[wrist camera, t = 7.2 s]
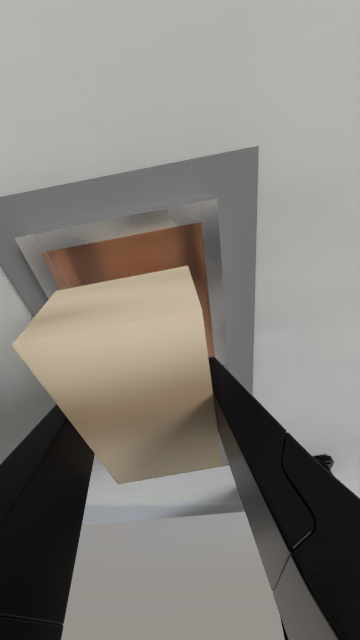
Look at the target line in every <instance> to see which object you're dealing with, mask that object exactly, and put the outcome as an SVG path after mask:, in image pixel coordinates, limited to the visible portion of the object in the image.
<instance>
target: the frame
mask: <svg viewBox="0 0 360 640" xmlns="http://www.w3.org/2000/svg"><path fill="white" fill-rule="evenodd" d="M14 239H15V240H16V242H17V244H18V246H19V248H20V249H21V251H22V253H23V255H24V257H25V258H26V260H27V262H28V264H29V265H30V267H31V269H32V271H33V273H34V274H35V276H36V278H37V280H38V282H39V283H40V285H41V287H42V289H43V290H44V292H45V294H46V296H47V298H48V299H50V297H51V296H52V295H53V294H54V292H55V291H58V290H63V289H69V288H74V287H79V286H84V285H90V284H95V283H100V282H105V281H110V280H116V279H121V278H126V277H131V276H137V275H142V274H147V273H152V272H158V271H163V270H168V269H173V268H178V267H184V266H188V267H189V270H190V274H191V277H192V280H193V283H194V286H195V289H196V292H197V295H198V298H199V301H200V304H201V308H202V313H203V320H204V328H205V336H206V343H207V351H208V358H209V357H215V358H216V359H217V360H218V361H219V362H220V363H221V364H222V365H223V366H224V367H225V368H226V369H227V370H228V357H227V341H226V325H225V309H224V293H223V277H222V260H221V244H220V228H219V212H218V198H216V197H214V196H212V195H211V196H206V197H201V198H195V199H190V200H185V201H180V202H175V203H170V204H165V205H159V206H154V207H149V208H144V209H139V210H134V211H129V212H123V213H118V214H113V215H108V216H103V217H98V218H93V219H88V220H82V221H77V222H72V223H67V224H62V225H57V226H52V227H46V228H41V229H36V230H31V231H27V232H25V233H23V234H21V235H19V236H17V237H15V238H14Z"/></svg>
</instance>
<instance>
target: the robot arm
mask: <svg viewBox="0 0 360 640" xmlns="http://www.w3.org/2000/svg"><path fill="white" fill-rule="evenodd" d="M208 359H209V366H210V374H211V382H212V390H213V397H214V405H215V413H216V420H217V428H218V433H219V435H220V438H221V441H222V444H223V447H224V450H225V453H226V456H227V459H228V462H229V465H230V468H231V471H232V474H233V477H234V480H235V483H236V486H237V489H238V492H239V495H240V498H241V501H242V504H243V506H244V509H245V512H246V515H247V518H248V521H249V524H250V527H251V530H252V533H253V536H254V539H255V542H256V545H257V548H258V551H259V554H260V557H261V560H262V563H263V565H264V568H265V572H266V574H267V577H268V580H269V583H270V586H271V589H272V591H273V595H274V598H275V601H276V604H277V607H278V610H279V613H280V617H281V622H282V627H283V632H284V637H285V640H360V498H359V497H357V496H356V495H355V494H354V493H353V492H352V491H350V490H349V489H348V488H347V487H346V486H345V485H343V484H342V483H341V482H340V481H339V480H338V479H337V478H335V477H334V476H333V474H332V472H331V471H330V470H331V467H332V465H333V463H334V461H333V459H332V458H331V456H325V457H319V458H313V457H312V456H311V455H310V454H309V453H308V452H307V451H306V450H305V449H304V448H303V447H302V446H301V445H300V444H299V443H298V442H297V441H296V440H295V439H294V438H293V437H292V436H291V435H290V434H289V433H288V432H287V433H286V430H285V429H284V428H283V427H282V426H281V425H280V424H279V422H278V421H277V420H276V419H275V418H274V417H273V416H272V415H271V414H270V413H269V412H268V411H267V410H266V409H265V408H264V407H263V406H262V405H261V404H260V403H259V402H258V401H257V400H256V399H255V398H254V397H253V396H252V395H251V394H250V393H249V392H248V391H247V390H246V389H245V388H244V387H243V386H242V384H241V383H240V382H239V381H238V380H237V379H236V378H235V377H234V376H233V375H232V374H231V373H230V372H229V371H228V370H227V369H226V368H225V367H224V366H223V365H222V364H221V363H220V362H219V361H218V360H217V359H216V358H215V357H209V358H208ZM94 454H95V453H94V452H93V451H92V449H91V448H90V447H89V446H88V444H87V443H86V442H85V440H84V439H83V438H82V436H81V435H80V434H79V432H78V431H77V430H76V429H75V427H74V426H73V425H72V423H71V422H70V421H69V419H68V418H67V417H66V416H65V414H64V413H63V412H62V410H61V409H60V408H59V406H58V405H57V404H56V405H55V406H54V407H53V409H52V410H51V411H50V412H49V413H48V414H47V415H46V416H45V417H44V418H43V419H42V420H41V421H40V423H39V424H38V425H37V426H36V427H35V428H34V429H33V430H32V431H31V432H30V433H29V434H28V435H27V437H26V438H25V439H24V440H23V441H22V442H21V443H20V444H19V445H18V446H17V447H16V448H15V449H14V451H13V452H12V453H11V454H10V455H9V456H8V457H7V458H6V459H5V460H4V461H3V462H2V464H1V465H0V640H61V636H62V631H63V625H62V624H63V623H64V619H65V613H66V607H67V602H68V597H69V591H70V586H71V580H72V575H73V570H74V564H75V559H76V553H77V547H78V542H79V537H80V531H81V526H82V520H83V515H84V509H85V504H86V498H87V493H88V487H89V482H90V476H91V471H92V465H93V460H94Z"/></svg>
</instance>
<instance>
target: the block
mask: <svg viewBox="0 0 360 640" xmlns="http://www.w3.org/2000/svg"><path fill="white" fill-rule="evenodd" d="M12 346H13V348H14V349H15V350H16V351H17V353H18V354H19V355H20V357H21V358H22V359H23V361H24V362H25V363H26V365H27V366H28V367H29V368H30V370H31V371H32V372H33V374H34V375H35V376H36V378H37V379H38V380H39V382H40V383H41V384H42V385H43V387H44V388H45V389H46V391H47V392H48V393H49V395H50V396H51V397H52V399H53V400H54V401H55V402H56V404H57V405H58V406H59V408H60V409H61V410H62V412H63V413H64V414H65V416H66V417H67V418H68V419H69V421H70V422H71V423H72V425H73V426H74V427H75V429H76V430H77V431H78V432H79V434H80V435H81V436H82V438H83V439H84V440H85V442H86V443H87V444H88V446H89V447H90V448H91V449H92V451H93V452H94V453H95V455H96V456H97V457H98V459H99V460H100V461H101V463H102V464H103V465H104V466H105V468H106V469H107V470H108V472H109V473H110V474H111V476H112V477H113V478H114V480H115V481H116V482H117V483H118V484H122V483H128V482H134V481H140V480H146V479H151V478H157V477H163V476H169V475H174V474H180V473H186V472H192V471H198V470H203V469H209V468H215V467H221V466H222V459H221V451H220V443H219V436H218V428H217V420H216V413H215V405H214V397H213V390H212V382H211V374H210V366H209V359H208V351H207V343H206V336H205V328H204V320H203V313H202V308H201V304H200V301H199V298H198V295H197V292H196V289H195V286H194V283H193V280H192V277H191V274H190V270H189V267H188V266H184V267H178V268H173V269H168V270H163V271H158V272H152V273H147V274H142V275H137V276H131V277H126V278H121V279H116V280H110V281H105V282H100V283H95V284H90V285H84V286H79V287H74V288H69V289H63V290H58V291H55V292H54V294H53V295H52V296H51V297H50V299H49V300H48V301H47V302H46V303H45V305H44V306H43V307H42V308H41V310H40V311H39V312H38V313H37V314H36V316H35V317H34V318H33V319H32V321H31V322H30V323H29V324H28V325H27V327H26V328H25V329H24V330H23V332H22V333H21V334H20V335H19V336H18V338H17V339H16V340H15V341H14V343H13V344H12Z"/></svg>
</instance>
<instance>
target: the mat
mask: <svg viewBox="0 0 360 640" xmlns="http://www.w3.org/2000/svg"><path fill="white" fill-rule="evenodd" d="M258 148H259V146H256V147H251V148H246V149H241V150H236V151H231V152H226V153H221V154H216V155H211V156H206V157H201V158H196V159H191V160H186V161H181V162H176V163H171V164H166V165H161V166H156V167H151V168H146V169H140V170H135V171H130V172H125V173H120V174H115V175H110V176H105V177H100V178H95V179H90V180H85V181H80V182H75V183H70V184H65V185H60V186H55V187H50V188H45V189H40V190H35V191H30V192H25V193H20V194H15V195H9V196H4V197H0V265H1V266H2V268H3V270H4V271H5V273H6V274H7V276H8V278H9V279H10V281H11V282H12V284H13V285H14V287H15V289H16V290H17V292H18V293H19V295H20V296H21V298H22V300H23V301H24V303H25V304H26V306H27V307H28V309H29V311H30V312H31V314H32V315H33V317H35V316H36V314H37V313H38V312H39V311H40V310H41V308H42V307H43V306H44V305H45V303H46V302H47V301H48V300H49V299H48V298H47V296H46V294H45V292H44V290H43V289H42V287H41V285H40V283H39V282H38V280H37V278H36V276H35V274H34V273H33V271H32V269H31V267H30V265H29V264H28V262H27V260H26V258H25V257H24V255H23V253H22V251H21V249H20V248H19V246H18V244H17V242H16V240H15V239H14V238H15V237H17V236H19V235H21V234H23V233H25V232H27V231H31V230H36V229H41V228H46V227H52V226H57V225H62V224H67V223H72V222H77V221H82V220H88V219H93V218H98V217H103V216H108V215H113V214H118V213H123V212H129V211H134V210H139V209H144V208H149V207H154V206H159V205H165V204H170V203H175V202H180V201H185V200H190V199H195V198H201V197H206V196H211V195H212V196H214V197H216V198H218V212H219V228H220V244H221V260H222V277H223V293H224V309H225V325H226V341H227V357H228V371H229V372H230V373H231V374H232V375H233V376H234V377H235V378H236V379H237V380H238V381H239V382H240V383H241V384H242V386H243V387H244V388H245V389H246V390H247V391H248V392H249V393H250V394H251V395H252V384H253V345H254V305H255V266H256V226H257V187H258ZM218 436H219V443H220V451H221V459H222V466H226V465H229V462H228V459H227V456H226V453H225V450H224V447H223V444H222V441H221V438H220V435H219V433H218Z"/></svg>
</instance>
